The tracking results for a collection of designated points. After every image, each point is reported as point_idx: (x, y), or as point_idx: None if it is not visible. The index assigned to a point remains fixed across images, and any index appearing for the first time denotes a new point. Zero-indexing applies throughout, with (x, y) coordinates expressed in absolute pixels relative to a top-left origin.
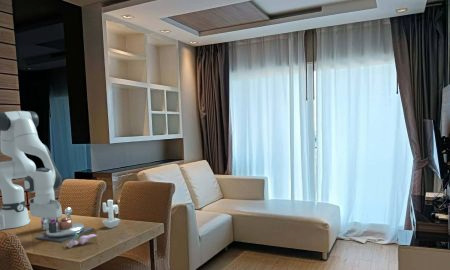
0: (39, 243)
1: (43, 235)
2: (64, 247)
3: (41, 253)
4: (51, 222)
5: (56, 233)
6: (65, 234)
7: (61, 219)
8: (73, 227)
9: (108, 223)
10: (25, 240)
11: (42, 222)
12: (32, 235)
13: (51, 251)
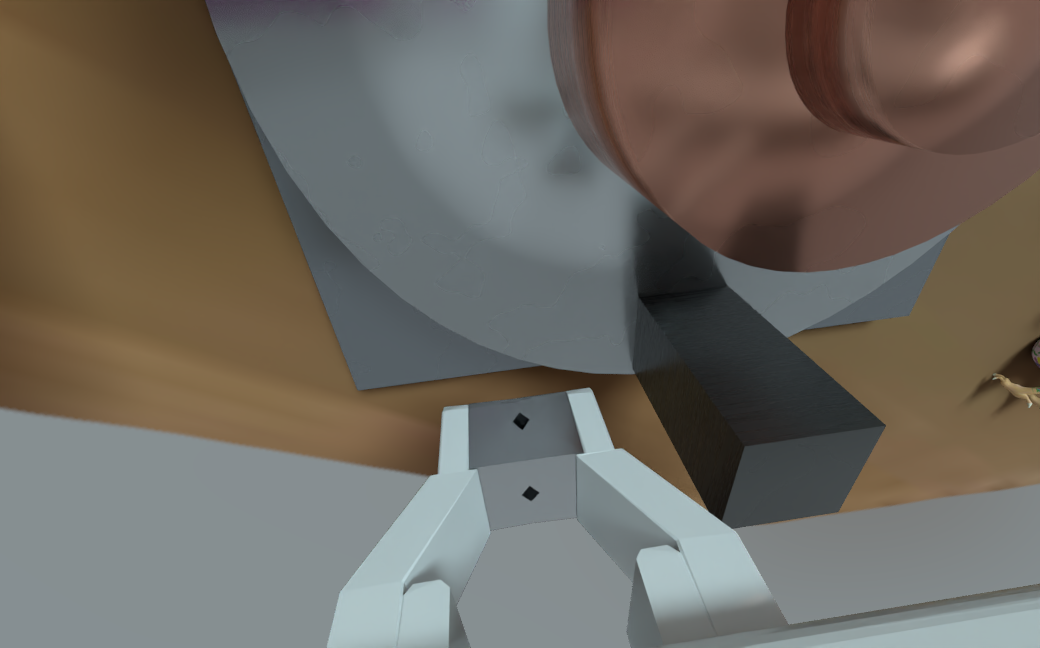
0: (614, 426)
1: (425, 323)
2: (1036, 404)
3: (847, 503)
4: (758, 485)
5: (792, 331)
6: None
7: (926, 150)
8: None
9: None
10: (330, 452)
11: None
12: (127, 331)
13: (911, 459)
